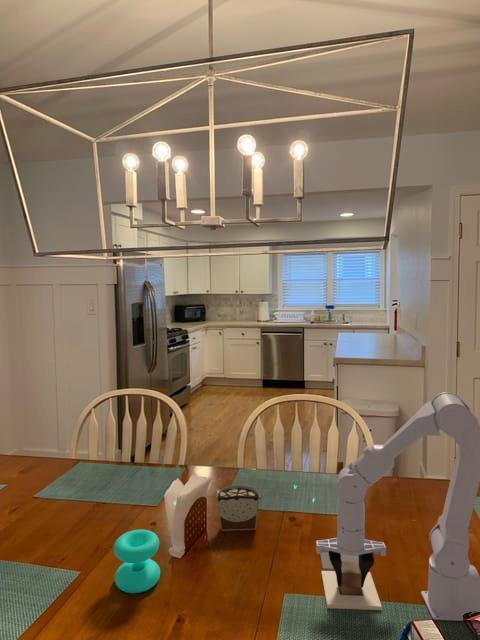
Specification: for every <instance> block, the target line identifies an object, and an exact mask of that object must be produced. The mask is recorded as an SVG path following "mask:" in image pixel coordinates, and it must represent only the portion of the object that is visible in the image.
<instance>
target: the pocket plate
mask: <svg viewBox="0 0 480 640" xmlns="http://www.w3.org/2000/svg"><path fill="white" fill-rule="evenodd" d="M321 579H322V585H323V586H322V587H323V591H324V597H325V603H326V608H327V609H340V610H341V609H342V610H343V609H345V610H346V609H347V610H364V611H365V610H366V611H367V610H369V611H371V610H372V611H382V610H383V608H382V607H383V606H382V603H381V601H380V597H379V595H378V591H377V588H376V586H375V583H374V582H375V581H374V579H373V577H372V573H371V572H370V571H369V572H368V574H367V576H366V578H365V581H364V585H363V587H361V596H353V595H341V592H340V588H339V587H338V584H337V577H336V573H335V570H321Z"/></svg>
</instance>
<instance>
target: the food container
mask: <svg viewBox="0 0 480 640" xmlns="http://www.w3.org/2000/svg"><path fill="white" fill-rule="evenodd" d="M259 502H262V498H261V495H260V493H259V491H258V490H257V489H256V488H254V487H252V486H248V485H240V484H239V485H237V484H236V485H235V484H234V485H230V486H226V487H223V488H221V489H219V491H217V494H216V496H215V503H217V506H218V507H217V508H218V515H219V524H220V530H221V531H223V532H225V531H226V532H227V531H252V530H253V531H255V530H257V520H258V514H259V513H258V512H259V504H260V503H259Z"/></svg>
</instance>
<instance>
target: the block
mask: <svg viewBox="0 0 480 640" xmlns="http://www.w3.org/2000/svg"><path fill="white" fill-rule="evenodd" d="M341 581H342V583H341V587H339V592H340V595H353V596H362V592H361V571H360V567H359V564H358V562H347V561H342V568H341Z"/></svg>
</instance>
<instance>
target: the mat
mask: <svg viewBox="0 0 480 640" xmlns="http://www.w3.org/2000/svg"><path fill="white" fill-rule="evenodd" d="M319 555H320V562H321V567H322V571H335V570H334V568H333V566H332V564H331V561H330V558H329V553H328V552H322V554H319ZM340 555H341V560H342V561H347V562H358V564H359V555H356V556H351V555H346V554H342V553H340Z"/></svg>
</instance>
